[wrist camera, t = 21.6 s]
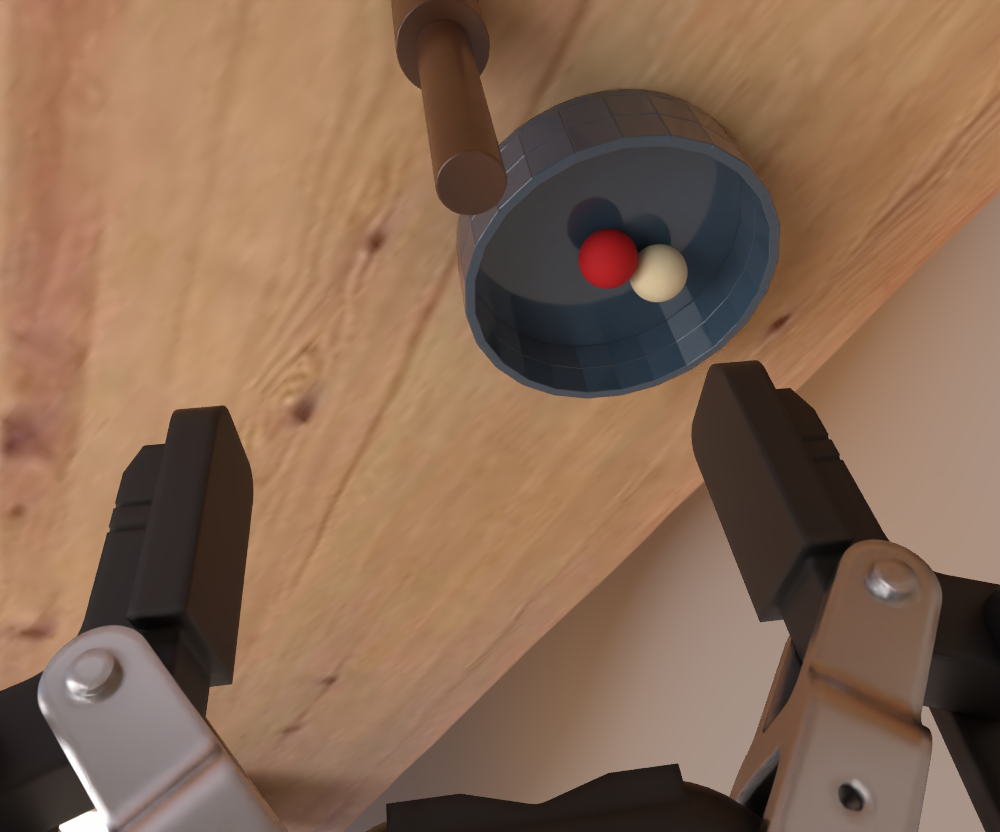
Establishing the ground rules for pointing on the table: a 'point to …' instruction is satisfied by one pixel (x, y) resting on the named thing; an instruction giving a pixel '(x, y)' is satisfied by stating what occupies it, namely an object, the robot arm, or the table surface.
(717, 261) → the bowl
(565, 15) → the table surface
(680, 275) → the cream ball
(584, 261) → the red ball
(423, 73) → the brown stepped wooden peg
